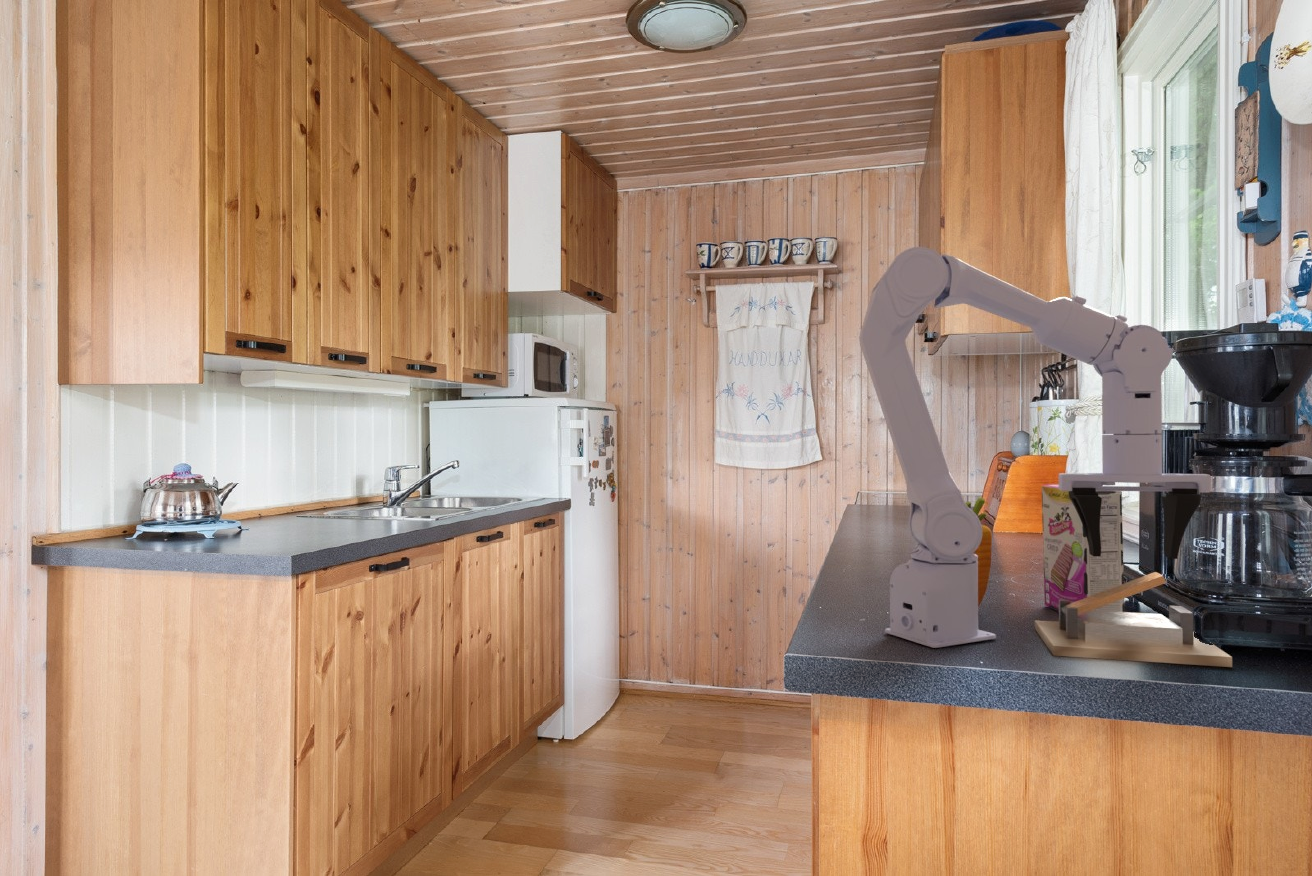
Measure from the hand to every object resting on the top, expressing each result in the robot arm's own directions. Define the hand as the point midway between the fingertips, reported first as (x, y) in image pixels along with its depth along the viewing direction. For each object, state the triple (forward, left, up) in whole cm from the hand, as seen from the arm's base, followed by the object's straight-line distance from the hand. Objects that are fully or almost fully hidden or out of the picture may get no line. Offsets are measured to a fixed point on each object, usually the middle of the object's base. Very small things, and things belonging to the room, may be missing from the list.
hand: (1132, 556), depth 89 cm
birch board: (-3, -1, -9) cm, 10 cm away
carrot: (-4, +19, -10) cm, 22 cm away
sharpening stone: (-3, -1, -9) cm, 10 cm away
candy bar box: (+6, +11, -10) cm, 16 cm away
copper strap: (-4, 0, -4) cm, 6 cm away
